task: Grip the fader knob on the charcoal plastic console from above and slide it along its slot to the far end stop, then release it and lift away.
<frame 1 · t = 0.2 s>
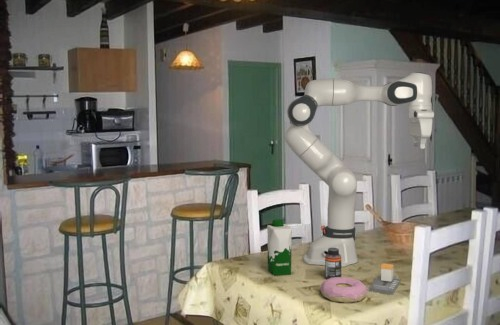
hand: (418, 147, 204), 47 cm above the table, tool pointing down, fingers open, 8 cm apart
donut: (343, 297, 170), on the table
supplement bottle: (333, 279, 188), on the table
milk carton: (279, 273, 196), on the table
fader knob: (387, 272, 182), point 4 cm above the table, slide at 0.5 cm
console: (387, 283, 183), on the table
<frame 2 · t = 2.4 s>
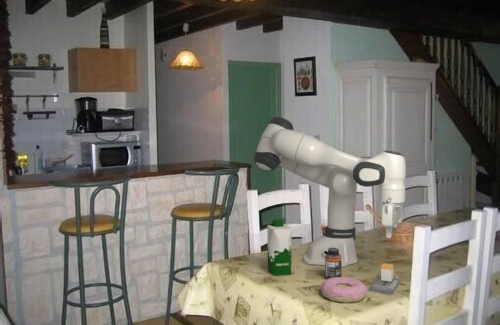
hand: (391, 234, 181), 18 cm above the table, tool pointing down, fingers open, 8 cm apart
nothing on the table moved.
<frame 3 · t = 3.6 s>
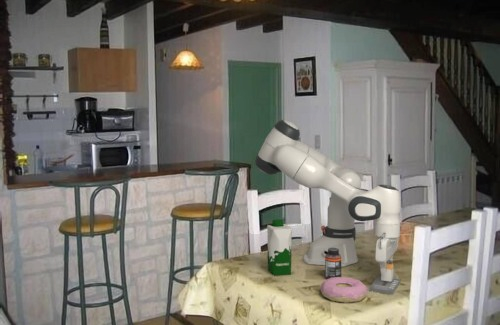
hand: (386, 268, 181), 6 cm above the table, tool pointing down, fingers open, 8 cm apart
nothing on the table moved.
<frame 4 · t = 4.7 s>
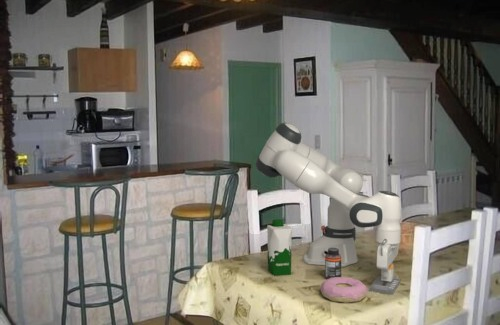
hand: (387, 274, 182), 3 cm above the table, tool pointing down, fingers closed on fader knob, 4 cm apart
fader knob: (387, 272, 182), point 4 cm above the table, slide at 0.5 cm, touching gripper
everything else where it was.
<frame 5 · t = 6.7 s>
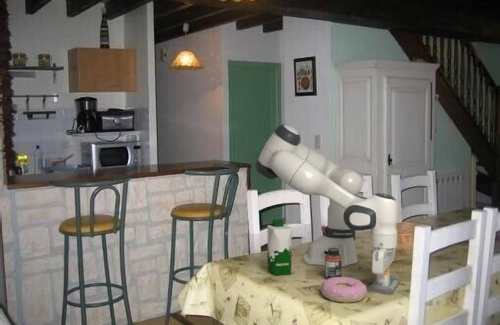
hand: (383, 279, 176), 3 cm above the table, tool pointing down, fingers closed on fader knob, 4 cm apart
fader knob: (383, 277, 176), point 4 cm above the table, slide at 7.2 cm, touching gripper
everything else where it was.
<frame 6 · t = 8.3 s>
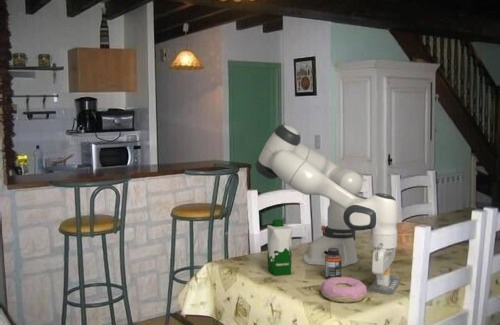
hand: (383, 279, 176), 3 cm above the table, tool pointing down, fingers open, 8 cm apart
fader knob: (383, 277, 176), point 4 cm above the table, slide at 7.2 cm
everything else where it was.
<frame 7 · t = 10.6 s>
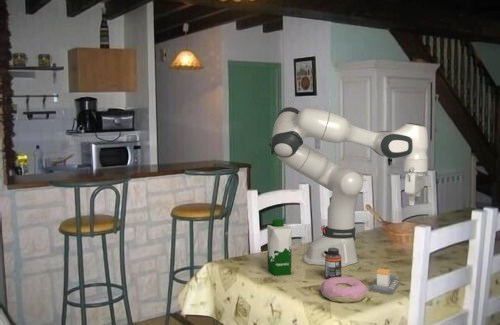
hand: (414, 203, 191), 27 cm above the table, tool pointing down, fingers open, 8 cm apart
nothing on the table moved.
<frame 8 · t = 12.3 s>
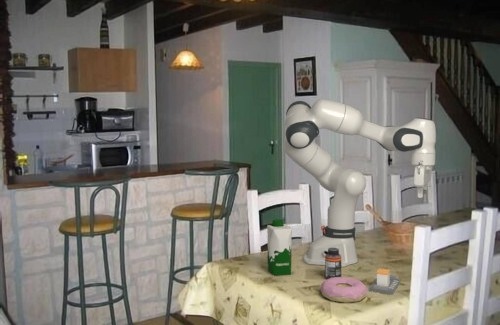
hand: (422, 195, 196), 29 cm above the table, tool pointing down, fingers open, 8 cm apart
nothing on the table moved.
at the end: fader knob slide at 7.2 cm; the gripper is holding nothing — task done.
